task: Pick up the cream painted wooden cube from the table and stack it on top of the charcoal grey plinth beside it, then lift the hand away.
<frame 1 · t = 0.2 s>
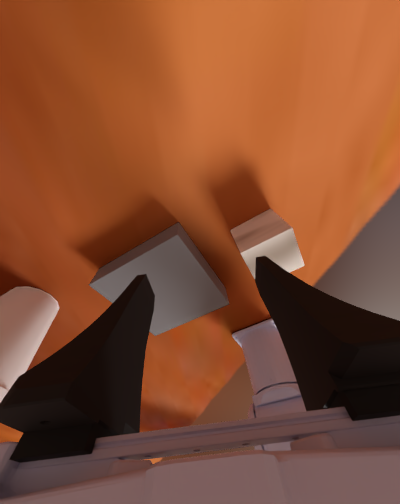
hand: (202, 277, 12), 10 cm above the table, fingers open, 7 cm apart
charcoal plinth: (166, 278, 25), on the table
foam cup: (35, 301, 26), on the table
cream cube: (257, 235, 22), on the table
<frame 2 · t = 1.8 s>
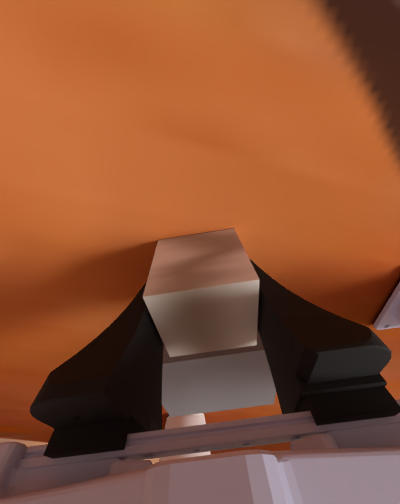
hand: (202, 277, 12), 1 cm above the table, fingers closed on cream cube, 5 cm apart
charcoal plinth: (213, 357, 20), on the table
foam cup: (185, 416, 30), on the table
cream cube: (201, 264, 13), on the table, touching gripper
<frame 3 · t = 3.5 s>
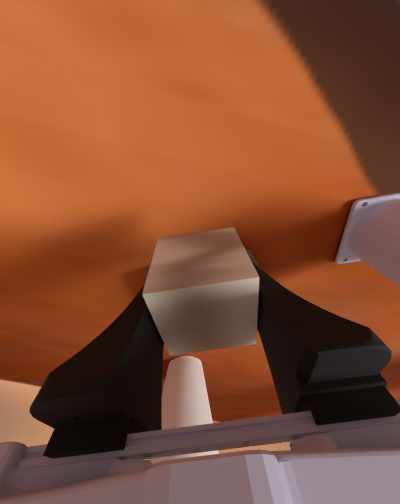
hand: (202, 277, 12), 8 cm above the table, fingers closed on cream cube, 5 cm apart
foam cup: (185, 363, 35), on the table
cream cube: (200, 263, 13), point 7 cm above the table, touching gripper
when the fingers open (5 cm above the table, at t = 5.1 s): cream cube stays where it is, resting on charcoal plinth.
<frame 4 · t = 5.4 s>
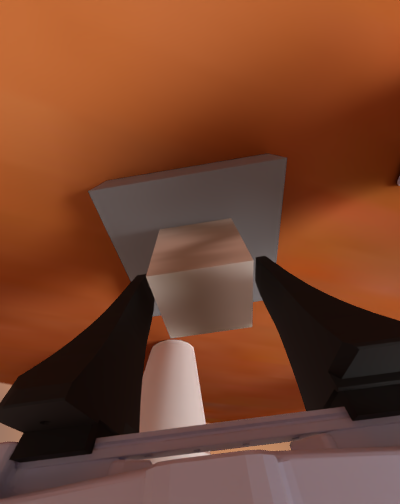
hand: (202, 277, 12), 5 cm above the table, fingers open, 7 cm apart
charcoal plinth: (198, 238, 17), on the table
foam cup: (172, 350, 27), on the table
cream cube: (200, 253, 14), point 3 cm above the table, touching charcoal plinth
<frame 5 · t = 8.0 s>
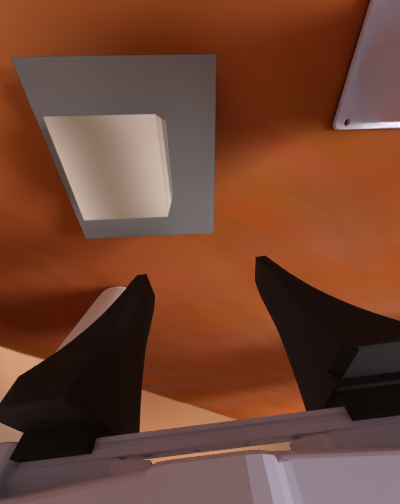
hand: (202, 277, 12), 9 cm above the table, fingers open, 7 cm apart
charcoal plinth: (144, 161, 17), on the table
foam cup: (123, 301, 26), on the table
cream cube: (136, 162, 14), point 3 cm above the table, touching charcoal plinth
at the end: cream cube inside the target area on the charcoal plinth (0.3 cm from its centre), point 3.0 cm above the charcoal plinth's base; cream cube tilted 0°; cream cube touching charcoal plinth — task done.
